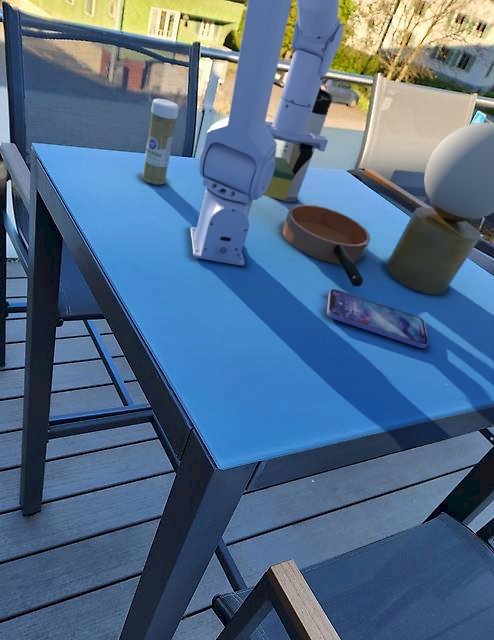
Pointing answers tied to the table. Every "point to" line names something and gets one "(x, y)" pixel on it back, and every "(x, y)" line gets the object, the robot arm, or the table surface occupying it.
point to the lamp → (447, 211)
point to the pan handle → (348, 265)
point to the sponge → (280, 180)
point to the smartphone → (377, 318)
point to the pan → (324, 233)
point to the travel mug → (313, 127)
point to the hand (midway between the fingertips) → (271, 182)
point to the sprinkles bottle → (159, 141)
